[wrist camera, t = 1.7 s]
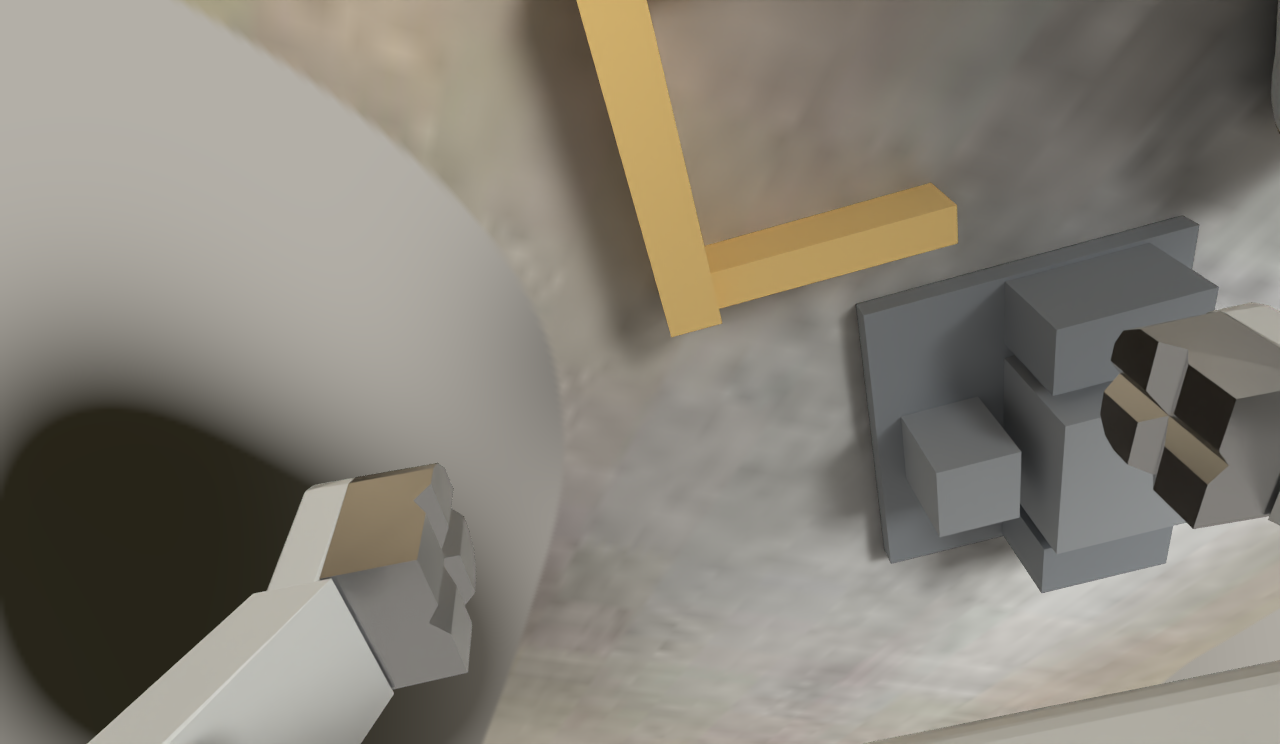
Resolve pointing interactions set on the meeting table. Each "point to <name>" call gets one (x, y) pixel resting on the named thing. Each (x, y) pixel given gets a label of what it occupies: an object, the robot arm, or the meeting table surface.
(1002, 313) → the grey block fixture base
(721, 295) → the yellow c-shaped bracket
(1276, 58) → the ceramic mug
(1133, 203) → the meeting table surface
